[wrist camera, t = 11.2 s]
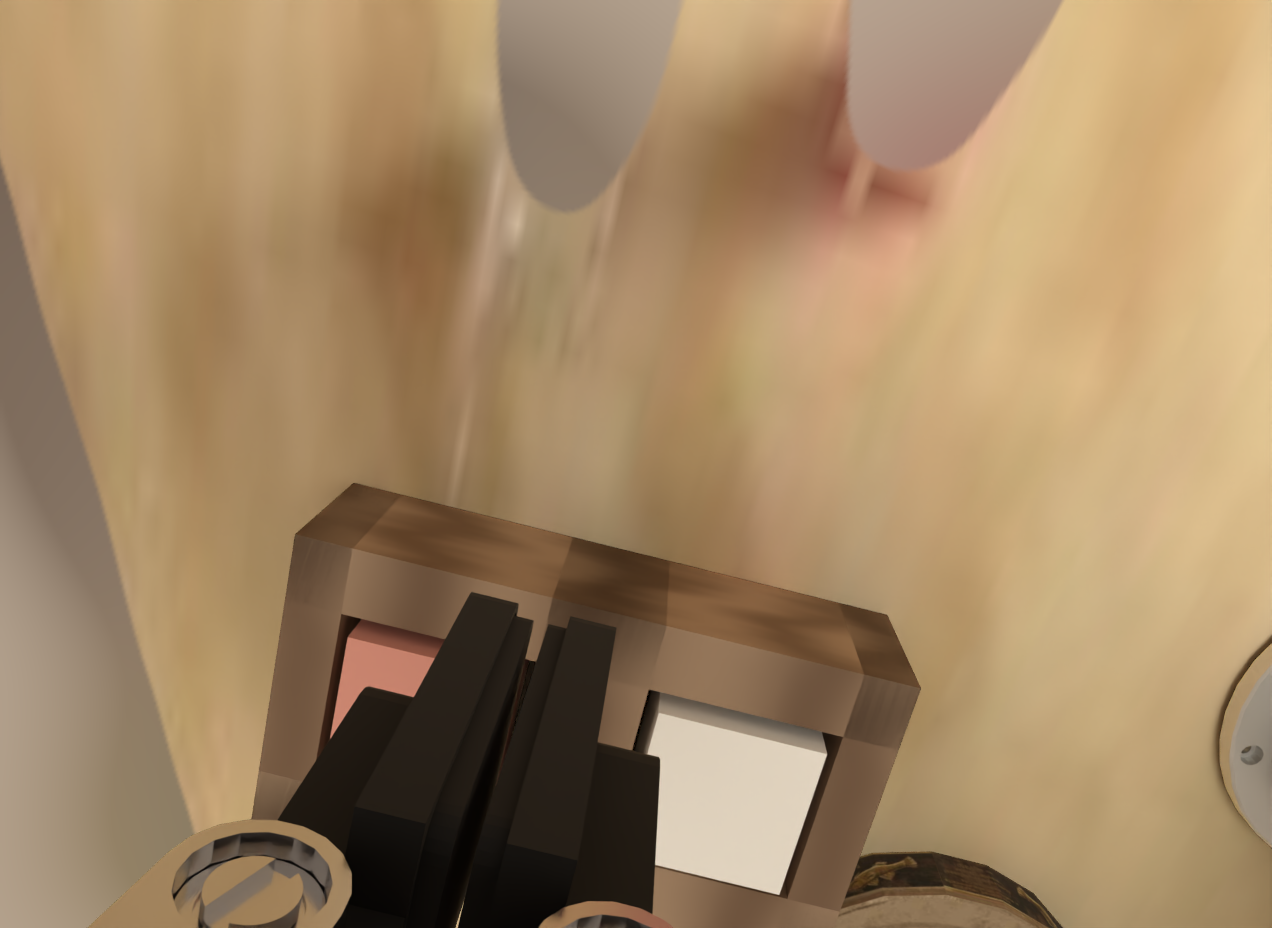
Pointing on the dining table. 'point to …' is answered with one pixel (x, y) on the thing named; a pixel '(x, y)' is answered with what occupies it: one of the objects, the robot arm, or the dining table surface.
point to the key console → (641, 661)
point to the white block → (729, 789)
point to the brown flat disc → (936, 895)
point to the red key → (391, 666)
